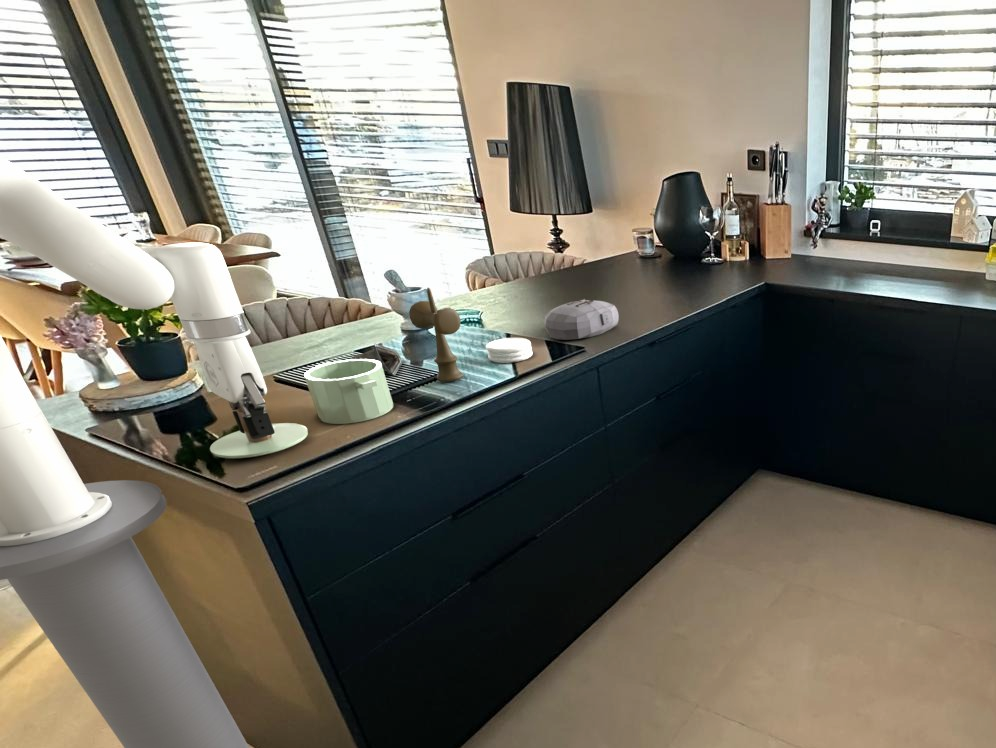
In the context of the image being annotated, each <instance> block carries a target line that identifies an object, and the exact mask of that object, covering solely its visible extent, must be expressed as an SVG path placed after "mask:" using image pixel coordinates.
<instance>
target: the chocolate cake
mask: <svg viewBox="0 0 996 748" xmlns="http://www.w3.org/2000/svg"><path fill="white" fill-rule="evenodd" d="M373 345H374V347H373V349H371V350H368V351H364V352H362V353H359V354H356V355H354V356H353V355H352V357H351V360H353V359H368V360H376V361H379V362H381V364H382V368H383V371H384V372H386V373H387V374H389V375H393V376H396V374H397V372H398V371H399V369H400V367H401V365H402V364H403V360H402V357H401V356H400V354H399V352H398V351H397V350H396V349H394V348H390V347H387V346H385V345H381V344H379V343H376V342H374V343H373Z"/></svg>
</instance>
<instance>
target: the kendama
mask: <svg viewBox="0 0 996 748" xmlns="http://www.w3.org/2000/svg"><path fill="white" fill-rule="evenodd" d="M426 294H427V298H428V300H419V301H417V302H414V303H413V304H412V305H411V306H410V308H409V311H408V313H409V314H408V315H409V320H410V323H411V324H412V325H413V326H414V327H415V328H417V329H420V330H428V329H431V328H434V333H435V342H436V343H435V344H436V356H435V357H434V359H433V362H434V363H435V364H436V365H437V369H438V374H437V375H436V379H437V381H439V382H443V383H450V382H451V383H452V382H456V381H459V380H461V379H462V378H464V373H463V372H462V371H461V370H459V368H458V365H457V361H458V357H457V356H456V355H455V354H453V351H452V350H451V348H450V345H449V343H448V341H447V337H446V336H445V335H448V336H449V335H453V334H455V333H457V332H458V331H459V330H460V327H461V317H460V314H459V313H458V312H457V311H456V310H455V309H454V308H451V307H443V308H440V309H438V308H437V306H436V303H435V300H434V296H433V293H432V290H431V288H430V287H427V288H426Z"/></svg>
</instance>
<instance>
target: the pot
mask: <svg viewBox="0 0 996 748" xmlns="http://www.w3.org/2000/svg"><path fill="white" fill-rule="evenodd" d="M304 380H305V383H306V385H307V388H308V391H309V394H310V398H311V400H312V402H313V405H314V408H315V411H316V413H317V416H318V419H319V420H320V421H322V422H323V423H326V424H331V425H346V424H347V425H348V424H354V423H361V422H364V421H365V422H367V421H370V420H372V419H373V420H374V419H376V418H379V417H381V416H383V415H385V414H387V413H389V412H390V411H392V410H393V408H394V402H393V401H394V400H393V398H392V395H391V392H390V388H389V385H388V382H387V378H386V375H385V371H383V368H382V364H381V362H379V361H376V360H368V359H353V360H352V359H345V360H336V361H333V362H326V363H322V364H318V365H316V366H315V367H312V368H310V369H309V370H307V371H306V372H305V373H304Z"/></svg>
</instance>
